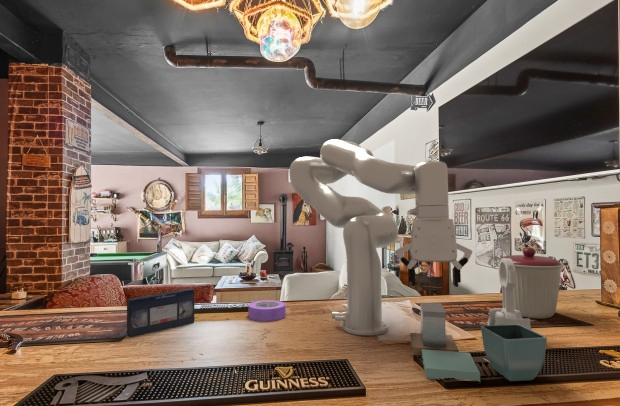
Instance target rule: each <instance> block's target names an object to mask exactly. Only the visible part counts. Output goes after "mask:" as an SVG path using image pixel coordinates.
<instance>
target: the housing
mask: <svg viewBox="0 0 620 406" xmlns="http://www.w3.org/2000/svg"><path fill="white" fill-rule="evenodd" d="M419 304H420V305H419V307H420V333H421V339H422V343H423V346H428V347H442V348H446V335H447V334H446V333H447V332H446V318H447V312H446V310H445V308H444V306H443V304H442V303H439V302H438V303H437V302H435V303H434V302H420V303H419Z"/></svg>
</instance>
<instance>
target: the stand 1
mask: <svg viewBox="0 0 620 406" xmlns="http://www.w3.org/2000/svg"><path fill="white" fill-rule="evenodd" d="M409 341H410V342H409V343H410V348H411V355H412V356H413V357H415V356H414V355H422V349H425V350H439V351H453V352H460V350H459V348H458V346H457V344H456V343H457V342H455V339H454V338H453V335H451V334H446V348H442V347H428V346H423V343H422V339H421V332H409Z"/></svg>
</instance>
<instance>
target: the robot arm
mask: <svg viewBox="0 0 620 406" xmlns="http://www.w3.org/2000/svg"><path fill="white" fill-rule="evenodd" d="M319 155H320V157H316V156H302V157H298V158H295V160H293V161H292V162H291V164H290V166H289V180H290V184H291V186H292V188H293V190H294V192H295V193H296V194H297V195H298V197H300V198H301V199H302V200H303V201H304V202H306V204H308V205H309V206H311V208H313V209H314V210H315V211H316V212H317V213H318V214H319V215H320V216H321V217H322V218H323V219H325V220H326V221H327V222H328V223H329V224H330V225H331V226H332V227H333V226H334V228H340V229H342V228H343V230H342V236H343V237H342V238H343V242H344V247H345V252H346V254H345V255H346V279H347V280H346V281H347V282H346V285H347V287H346V289H347V290H346V293H347V298H346V299H347V300H346V302H347V303H346V304H347V305H346V306H347V309H346V311H343V312H339V311H332V312H331V319H334V321H336V322H337V321H338V322H339V321H341V322H342V323H341V328H342V330H343V331H345V332H346V333H349V334H352V335H356V336H363V337H364V336H366V337H367V336H368V337H369V336H378V335H382V334H385V333H386V332H387V331H388V324H387V323H386V322H385V321H382V319H383V318H382V312H383V311H382V309H383V308H382V264H381V259H380V256H379V253H378V251H377V249H379V248H386V247H389V246H391V245H393V244H394V243H395V242H396V241H397V239H398V236H399V229H398V226H397V223H396V222H395V220H394V219H393V218H392V217H391V216H390V215H388V214H387V213H386V212H385V211H383V210H382V209H380V208H379V206H376V205H375V204H374V203H373V202H371V201H370V200H368V199H366V198H364V197H360V196H346V195H345V196H344V195H342V194H340V193H339V192H338V191H336V190H334V189H333V188H332V187H331V186H330V185H328V184H333V183H336V182H337V181H339V180H341V179H343V177H346V176H347V175H350V176H352V177H354V178H355V179H356V180H357V181H358V182H359V183H360V184H362V185H365V186H367V187H369V188H371V189H374V190H375V191H379V192H381V193H384V194H388V195H389V194H392V195H395V194H398V195H414V197H415V202H414V203H415V207H414V208H412V209H411V208H410V209H409V215H412V216H415V219H412V223H411V232H410V237H411V238H410V242H409V243H407V244H405V245H403V246H401V247H399V248H397V249H396V250H395V253H396V255H397V256H398V259H399V260H400V262H401V263H402V264H403V265H404V266H405V267H406V268H407V270H408V271H407V272H408V276H407V277H408V282H409V283H411V287H414V286H416V270H415V269H416V268H414V267H415V266H416V264H417V263H418V262H419V263H422V262H423V263H426V262H427V263H428V262H429V263H430V262H431V263H449V262H450V263H451V264H452V265H453V267H452V284H453V286H454V287H455V288H459V283H462V282H461V281H462V280H461V278H462V277H461V270H462V268H463V267H464V266H465V265H466V264H468V262H469V260H470V259H471V257H472V254H473V250H472V249H470V248H468V247H465V246H463V245H461V244H459V243H457V238H456V237H457V236H456V227H455V224H454V219H452V218H450V213H449V212H450V210H449V209H450V208H449V180H448V178H449V177H448V174H449V173H448V165H447V163H445V162H444V161H438V160H433V161H432V160H431V161H423V162H419V163H417V164H416V165H410V164H403V163H396V162H390V161H387V160H383V159H380V158H377V157H374V154H373V151H371V150H370V149H367V148H365V147H362V146H361V145H360V144H358V143H356V142H354V141H348V140H343V139H329V140H327V141H325V142H324V143H323V144H322V146H321V148H320V151H319ZM409 250H410V253H411V258H410V260H408V259H407V258H406V257H405V255H404V253H405V252H408V251H409ZM458 250H459V251H461V252H462V253H463V256H462V257H461V258H460V259H459V260H457V258H458Z"/></svg>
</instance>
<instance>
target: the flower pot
mask: <svg viewBox="0 0 620 406" xmlns="http://www.w3.org/2000/svg"><path fill="white" fill-rule="evenodd" d="M480 333H481V338H482V344H483V346H482V347H483V349H484V353H485V356H486V359H487V360H488V362H489V364H490V365H491V367H492V369H493V370H494V369H495V370H496V371H497V372H499V373H500V374H501V375H503V376H504V377H505V378H507V379H508V380H509V382H520V381H533V380H534V379H536V377H537V376H538V374H540V373H539V372H540V371H541V369H542V368H543V365H544V363H545V362H544V361H545V357H546V351H547V350H546V349H547V342H548V341H547V340H548V337H547V336H545V335H543V334H540V333H538V332H537V331H533V330H532V329H531V330H530V329H528V328H526V327H524V326H522V325H519V324H509V325H486V324H485V325H484V324H483V325H480ZM495 370H494V371H495ZM496 371H495V372H496ZM497 372H496V373H497ZM500 374H499V375H500ZM501 375H500V376H501ZM503 376H502V377H503ZM504 377H503V378H504ZM505 378H504V379H505ZM507 379H506V380H507ZM508 380H507V381H508Z"/></svg>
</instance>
